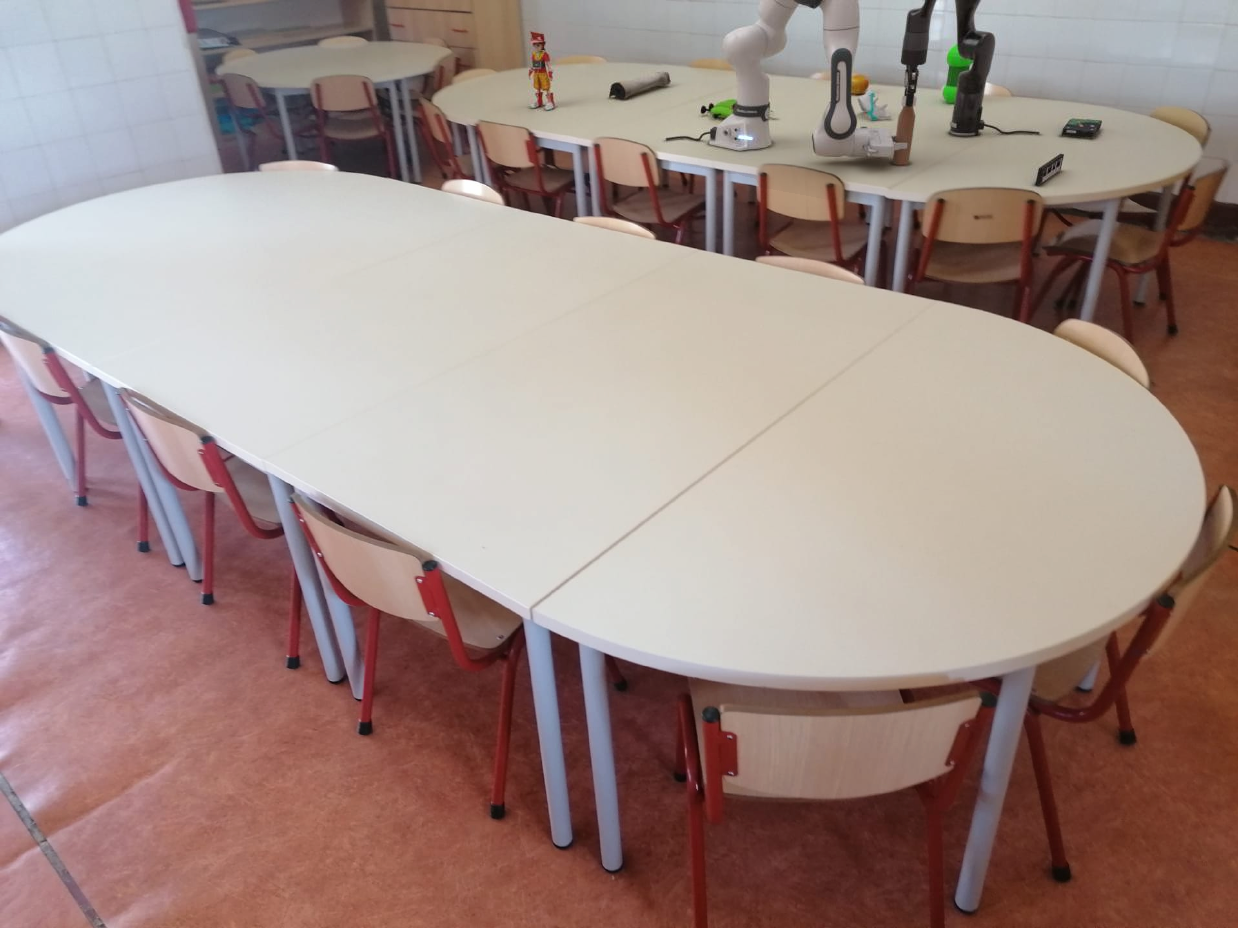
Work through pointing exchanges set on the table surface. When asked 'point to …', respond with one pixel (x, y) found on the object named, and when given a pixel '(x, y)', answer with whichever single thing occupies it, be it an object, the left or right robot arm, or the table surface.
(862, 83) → the fruit
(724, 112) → the toy
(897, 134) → the bottle
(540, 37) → the toy
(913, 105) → the cap
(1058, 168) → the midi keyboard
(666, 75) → the rolled mat
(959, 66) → the green dumbbell
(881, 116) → the anatomical model
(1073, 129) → the disk drive
